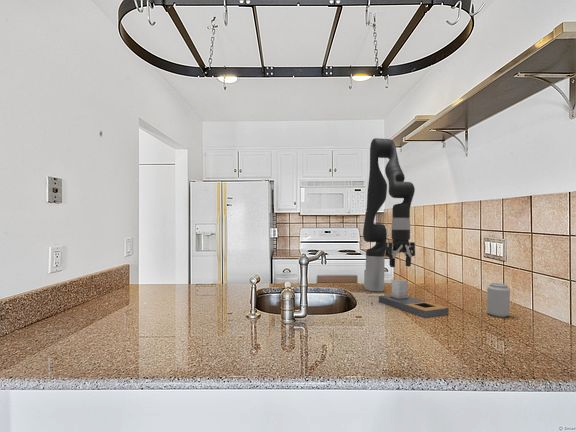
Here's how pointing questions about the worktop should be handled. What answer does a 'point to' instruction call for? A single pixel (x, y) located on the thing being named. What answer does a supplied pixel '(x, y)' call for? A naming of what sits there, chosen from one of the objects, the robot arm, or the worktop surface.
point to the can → (498, 299)
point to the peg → (399, 289)
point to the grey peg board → (415, 306)
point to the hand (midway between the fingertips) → (400, 266)
